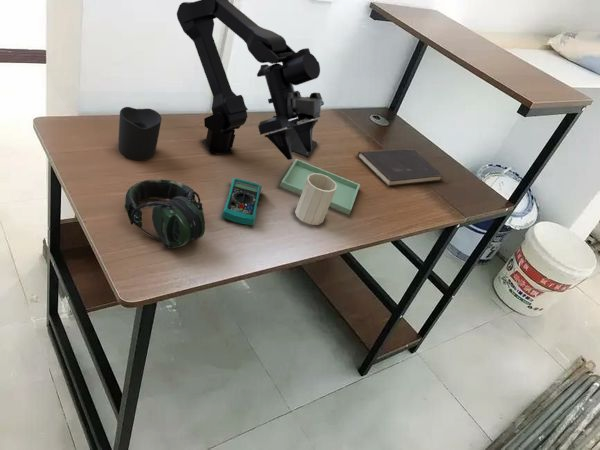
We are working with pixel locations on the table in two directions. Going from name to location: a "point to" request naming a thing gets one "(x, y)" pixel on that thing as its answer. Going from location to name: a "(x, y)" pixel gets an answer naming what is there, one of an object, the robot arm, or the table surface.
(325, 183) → the cup
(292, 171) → the tray
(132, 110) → the pen holder
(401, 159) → the hardcover book
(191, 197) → the headphones
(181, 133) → the table surface
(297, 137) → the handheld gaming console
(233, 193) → the digital multimeter
